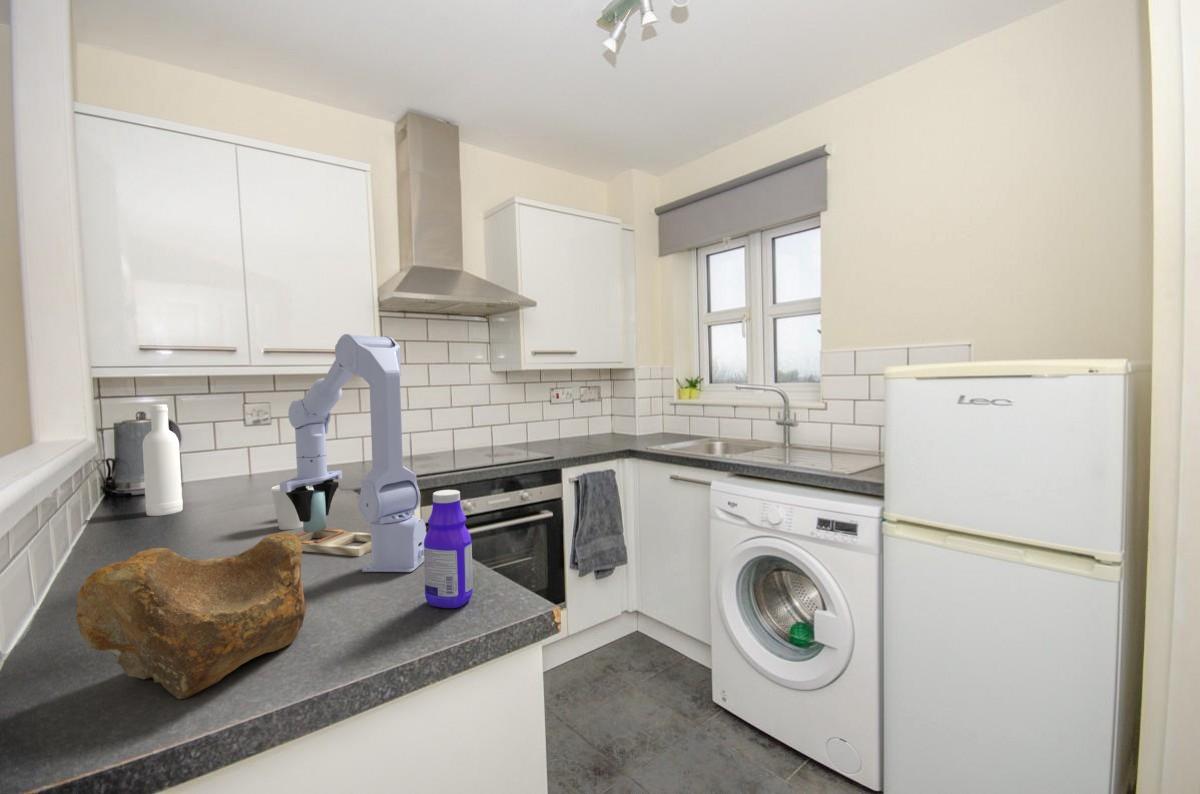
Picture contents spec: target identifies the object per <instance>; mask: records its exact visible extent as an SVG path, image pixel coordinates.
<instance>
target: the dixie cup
mask: <svg viewBox="0 0 1200 794" xmlns="http://www.w3.org/2000/svg"><path fill="white" fill-rule="evenodd" d="M306 488H308V490H309V486H308V487H306ZM270 491H271V494H272V499H273V504H274V509H275V510H274V511H275V516H276V520H277V525H278V529H279V530H281V531H282V530H283V531H287V530H288V531H290V530H296V529H300V528H303V522H300V520H299V517H298V514H297V511H296V509H295V507H294V505H293V503H292V501H291V500H290V498H289V497H288V496H287V495H286V492H280V484H278V485H274V486H272V487H271V488H270Z"/></svg>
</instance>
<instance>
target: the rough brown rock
mask: <svg viewBox="0 0 1200 794" xmlns="http://www.w3.org/2000/svg"><path fill="white" fill-rule="evenodd" d="M302 550H303V547H302V542H301V540H300V539H299V538H298V537H297V536H296V535H295V534H293V533H291V532H289V533H288V532H279V533H273V534H269V535H266V536H265V537H263V538H261V540H260V541H258V543H256V544H255V545H253V546H252V547H250V548H247V549H246V550H244V551H243V552H241V553H240V554H238V555H235V556H233V557H229V556H226V557H225V556H224V557H215V558H214V557H213V558H209V559H193V558H186V557H184V556H183V557H182V556H180V555H179V554H178V553H176V552H175V551H174V550H172V549H170V548H168V547H156V548H155V547H154V548H149V549H146V550H141V551H138V552H137V553H136V554H134V555H132V556H130V557H129V558H128V559H127V560H120V561H117V562H113V563H111V564H107V565H104V566H102V567H100V568H98V569H97V570H96V571H94V572H93V573H92V574H90V575H89V576H87V578H86V579H85V581H84V583H83V585H81V589H80V590H79V591H78V593H77V594H76V601H77V606H76V607H77V608H76V609H77V610H76V614H75V619H76V621H77V626H78V628H79V629H78V630H79V633H80V634H81V637H82V639H83V641H84V643H85V644H86V646H87V647H89V648H91V649H95V650H97V651H102V652H110V653H112V654H113V656H114V658H115V661H116V663H117V664H118V665H119V666H120V667H121V669H122V670H123V671H124V673H125V674H126V675H127V677H130V678H131V677H133V678H138V679H141V680H147V679H151V678H152V679H153V681H154V683H156V684H161V685H162V687H163V688H164V689H165V690H166V691H167V692H168V693H169V694H171V695H172V696H174V697H175V698H177V699H178V700H182V699H183V700H185V699H188V698H190V697H192V696H194V695H196V694H198V693H200V692H202V691H204V690H205V689H208V688H209V687H212V686H213V685H214V684H216V683H218V682H220V681H221V680H222V679H223V678H224V677H225V676H227V675H229V674H231V673H232V672H233V671H235V670H236V669H238V668H239V667H241V665H244V664H245V663H247V662H249V661H250V660H252V659H255V658H257V657H259V656H262V655H264V654H267V653H272V652H275V651H278V650H280V649H284V648H285V647H287V646H288V645H290V644H292V643H294V641H295V640H296V639H297V637H298V634H299V632H300V630H301V628H302V627H303V623H304V619H305V616H306V609H307V607H306V606H307V605H306V599H305V595H304V586H303V585H304V584H303V579H302V558H303V551H302Z"/></svg>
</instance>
